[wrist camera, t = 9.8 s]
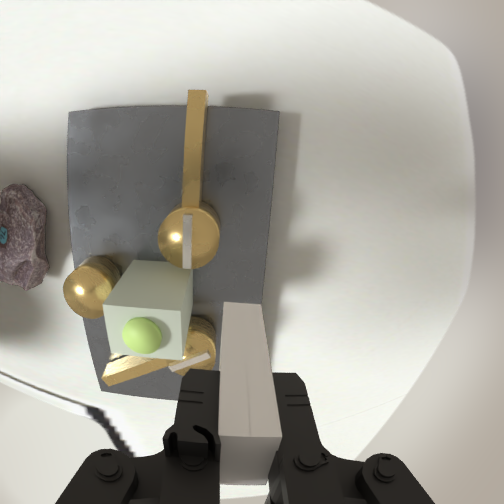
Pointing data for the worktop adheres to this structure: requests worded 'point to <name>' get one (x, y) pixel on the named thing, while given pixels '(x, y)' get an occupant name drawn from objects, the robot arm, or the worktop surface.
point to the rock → (22, 237)
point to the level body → (150, 310)
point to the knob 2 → (195, 356)
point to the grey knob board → (164, 213)
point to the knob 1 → (191, 199)
